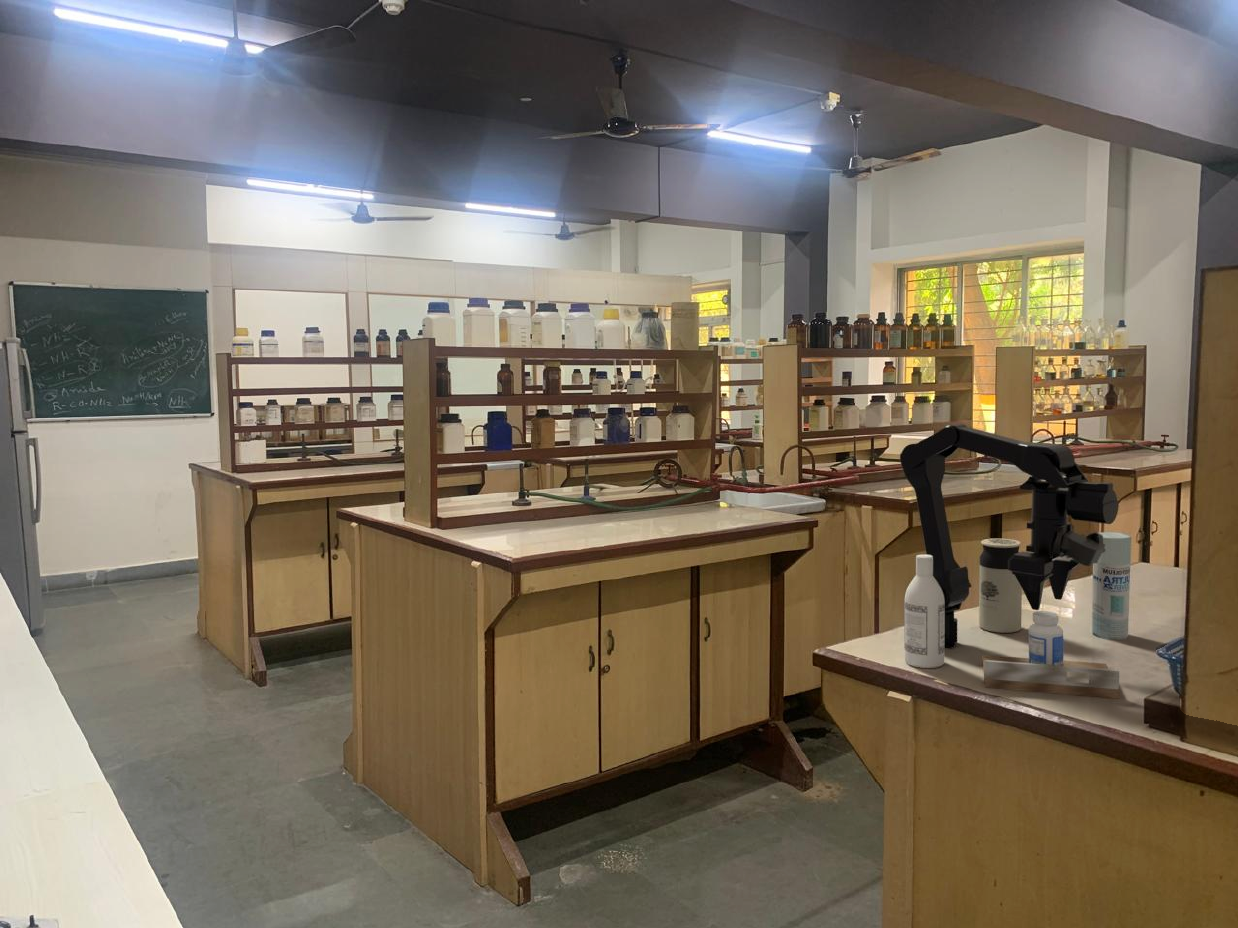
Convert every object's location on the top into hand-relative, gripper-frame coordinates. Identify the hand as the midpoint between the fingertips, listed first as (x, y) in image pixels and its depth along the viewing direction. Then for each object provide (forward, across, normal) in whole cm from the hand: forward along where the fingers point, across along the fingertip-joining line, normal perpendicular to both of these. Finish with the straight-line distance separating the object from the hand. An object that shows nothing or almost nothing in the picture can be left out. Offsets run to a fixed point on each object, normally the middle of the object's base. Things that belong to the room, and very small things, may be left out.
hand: (1047, 604), depth 159 cm
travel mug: (+12, +18, +17) cm, 28 cm away
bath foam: (+12, -11, +17) cm, 24 cm away
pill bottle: (+10, -4, -2) cm, 11 cm away
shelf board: (+12, -5, -2) cm, 13 cm away
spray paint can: (+12, +28, -1) cm, 30 cm away
